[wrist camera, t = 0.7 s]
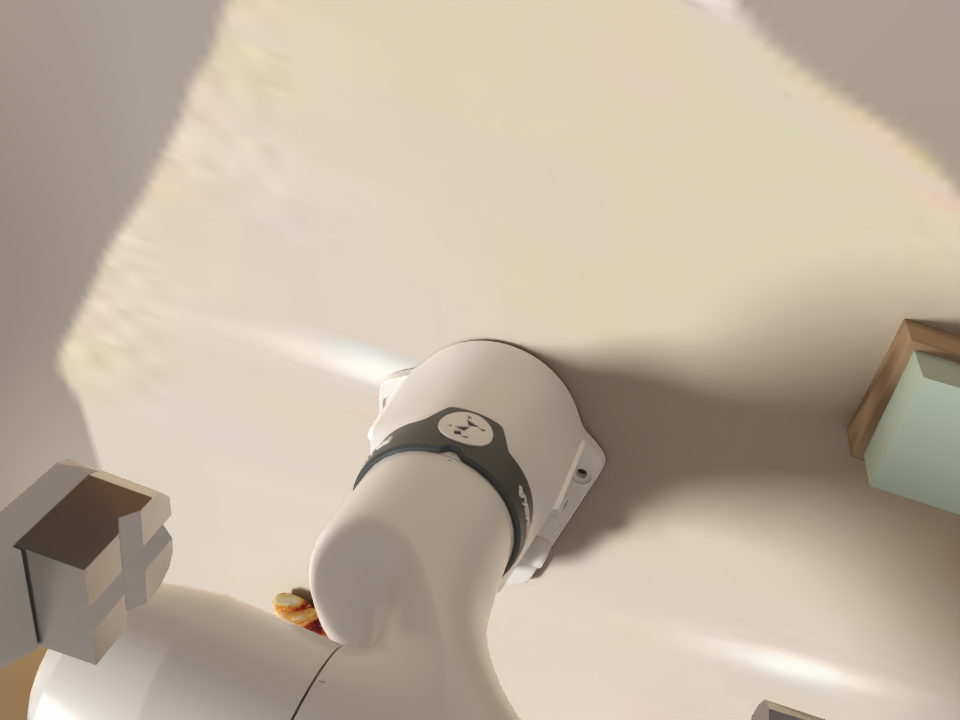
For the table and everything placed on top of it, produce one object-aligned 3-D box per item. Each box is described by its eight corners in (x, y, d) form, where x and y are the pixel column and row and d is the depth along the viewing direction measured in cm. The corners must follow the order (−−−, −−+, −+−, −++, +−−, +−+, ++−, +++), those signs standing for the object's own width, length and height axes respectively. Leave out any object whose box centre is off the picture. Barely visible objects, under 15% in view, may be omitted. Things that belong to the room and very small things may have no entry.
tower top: (987, 493, 58) (1001, 528, 54) (863, 454, 59) (869, 486, 56) (1048, 389, 54) (1067, 420, 51) (914, 350, 55) (923, 377, 52)
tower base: (976, 471, 62) (988, 503, 58) (846, 427, 63) (851, 456, 59) (1044, 361, 57) (1061, 388, 54) (903, 316, 59) (912, 340, 55)
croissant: (285, 576, 90) (227, 638, 86) (314, 565, 82) (251, 632, 77) (428, 720, 92) (379, 788, 88) (471, 723, 84) (419, 798, 79)
